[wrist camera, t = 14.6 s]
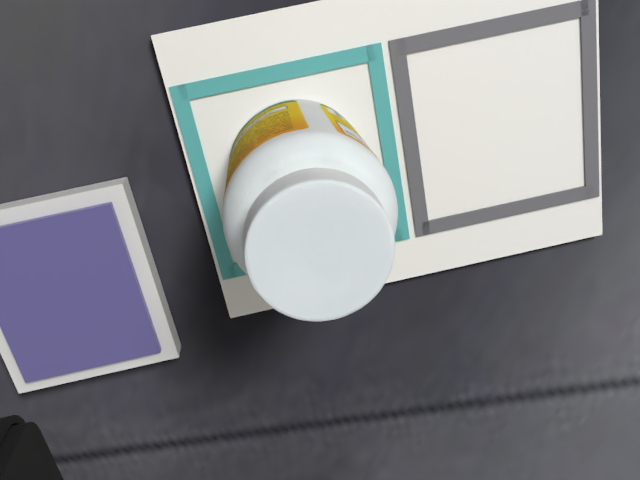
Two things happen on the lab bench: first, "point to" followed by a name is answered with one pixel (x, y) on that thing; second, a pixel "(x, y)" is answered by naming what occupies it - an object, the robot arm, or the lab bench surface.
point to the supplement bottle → (309, 211)
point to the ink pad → (79, 288)
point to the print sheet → (412, 116)
